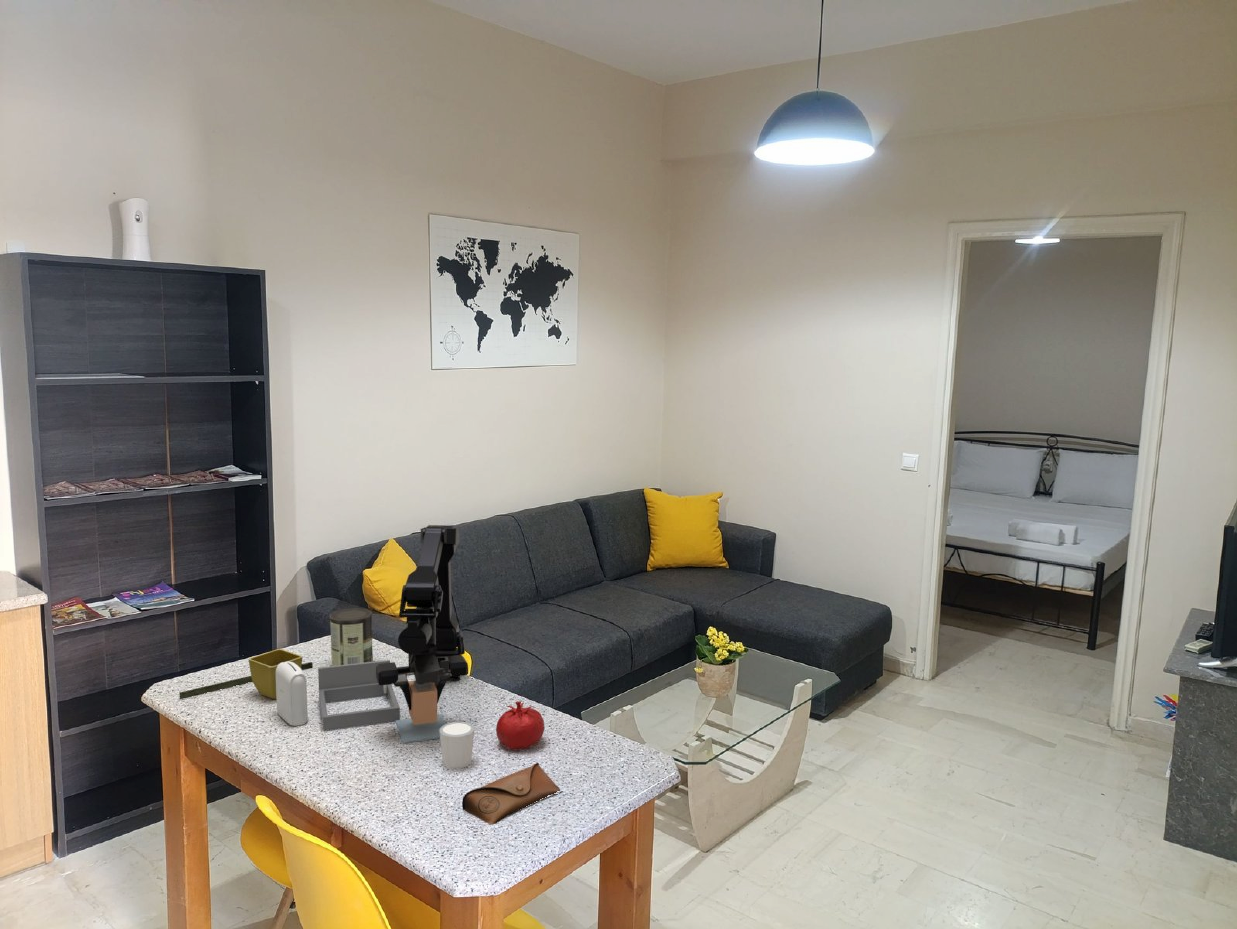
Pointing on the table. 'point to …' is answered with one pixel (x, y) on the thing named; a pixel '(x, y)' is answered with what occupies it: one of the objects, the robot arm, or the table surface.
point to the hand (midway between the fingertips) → (422, 707)
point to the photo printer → (291, 693)
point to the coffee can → (351, 636)
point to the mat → (419, 730)
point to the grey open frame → (354, 695)
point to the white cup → (457, 744)
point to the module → (423, 702)
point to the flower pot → (270, 669)
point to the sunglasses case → (509, 794)
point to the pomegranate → (520, 727)
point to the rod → (227, 684)
